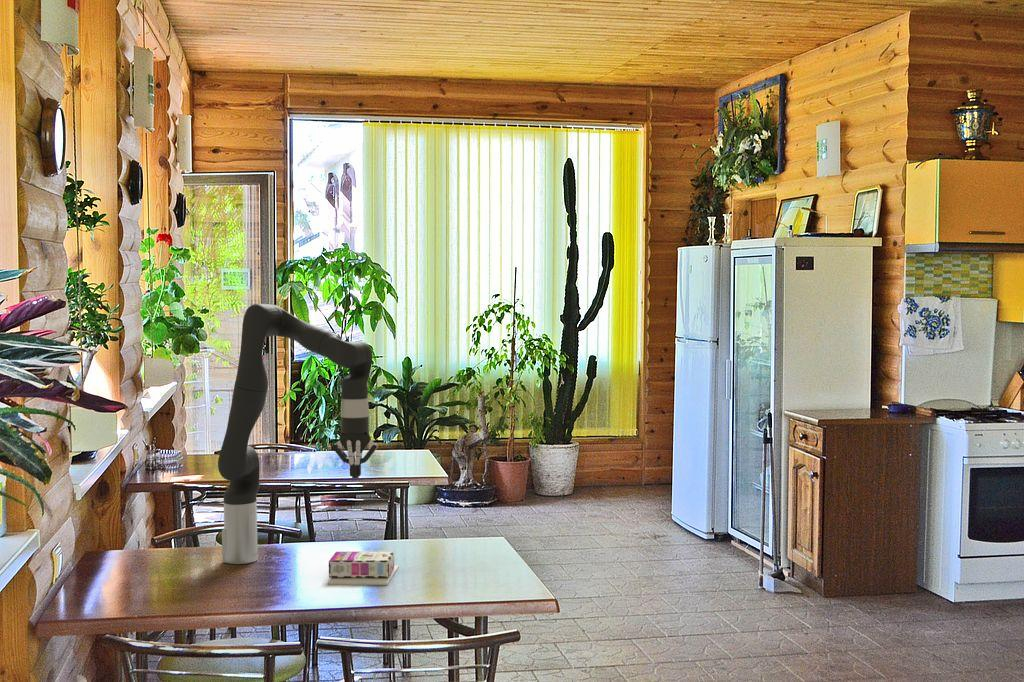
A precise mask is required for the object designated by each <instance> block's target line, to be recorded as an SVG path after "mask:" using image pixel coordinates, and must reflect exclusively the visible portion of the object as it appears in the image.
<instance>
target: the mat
mask: <svg viewBox="0 0 1024 682" xmlns="http://www.w3.org/2000/svg"><path fill="white" fill-rule="evenodd" d="M399 568H400V565H398V564H397V565H396V564H394V568H393V570H392V572H391V574H390V576H389V578H329V580H328V581H327V584H328V585H347V586H348V585H356V586H357V585H359V586H360V585H362V586H388V585H389V584H390V582H391V580H392V578H393V577H394V576H395V575H396V573H397V571H398V570H399Z"/></svg>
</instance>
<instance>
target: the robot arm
mask: <svg viewBox="0 0 1024 682" xmlns="http://www.w3.org/2000/svg"><path fill="white" fill-rule="evenodd" d="M276 336H277V337H281V338H286V339H289V340H292V341H294V342H296V343H298V344H299V345H301V346H302V347H303V348H304V349H305V350H307V351H309V352H312V353H313V354H314V353H315V354H317V355H318V356H322V357H324V358H327V359H328V360H329V361H330V362H332V363H334V364H335V365H336V366H339V367H342V368H345V369H349V371H348V374H347V376H345V377H344V378H342V380H341V402H340V403H341V404H340V436H339V440H338V441H337V442H335V443H334V444H332V446H331V448H332V450H333V451H334V452H335V453H336V454H337V456H338V458H340V459H341V461H342V462H343V463H346V464H348V466H349V476H350V477H351V478H352V479H359V478H360V476H361V474H362V464H365V463H366V462H368V461H369V459H370V458H371V456H372V455H374V453H375V451H376V450H377V449H378V448H379V444H378V443H375V442H374V441H373V440H372V438H371V437H372V436H371V435H370V418H369V417H370V415H369V414H370V409H369V407H370V406H369V401H368V400H369V399H368V398H369V395H368V389H369V388H368V387H369V386H368V381H369V378H370V373H371V370H372V365H373V352H372V349H371V347H370V345H369V344H368V343H367V342H365V341H361V340H360V341H359V340H358V341H345V340H343V339H342V338H341V337H340V335H339V334H337V333H334V332H332V331H330V330H327V329H324V328H322V327H319V326H316V325H314V324H311V323H308V322H306V321H304V320H302V319H300V318H299V317H296V316H294V315H293V314H291V313H290V312H288V311H287V310H285V309H283V308H282V307H280V306H278V305H276V304H272V303H254V304H250V306H249V307H248V308H247V309H246V310H245V312H244V315H243V320H242V326H241V341H240V352H239V359H238V364H237V365H238V366H237V371H236V376H235V377H236V378H235V381H234V384H233V385H234V387H233V392H232V397H231V404H230V410H229V414H228V420H227V425H226V426H227V427H226V430H225V434H224V438H223V441H222V444H221V447H220V452H219V454H218V459H217V469H218V472H219V474H220V476H221V477H222V478H223V479H224V480H226V481H229V485H228V486H227V489H226V490H225V491H224V493H223V527H224V528H222V530H221V551H222V553H221V554H222V559H221V560H222V563H225V564H230V565H244V564H251V563H255V562H256V561H258V559H259V557H258V556H259V555H258V554H259V552H258V551H259V550H258V515H257V514H258V513H257V511H258V509H257V507H258V506H257V502H258V501H257V496H258V492H259V488H260V469H261V468H260V458H259V454H258V453H257V451H256V450H255V449H254V447H252V446H251V445H249V440H250V436H251V433H252V431H253V430H254V427H255V425H256V423H257V421H258V420H259V418H260V417H261V414H262V413H263V410H264V407H265V403H266V398H267V394H268V388H269V380H268V375H267V370H266V368H265V364H264V358H263V353H264V352H263V351H264V346H265V345H264V344H265V340H266V338H267V337H276ZM367 447H368V451H367V452H366V453H365V454H364V453H363V451H365V449H366V448H367ZM343 448H344V449H345V451H347V453H346V452H345V451H344V450H343ZM363 454H364V456H363Z"/></svg>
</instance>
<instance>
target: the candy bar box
mask: <svg viewBox="0 0 1024 682" xmlns="http://www.w3.org/2000/svg"><path fill="white" fill-rule="evenodd" d="M394 565H395V552H394V551H380V550H379V551H377V550H375V551H336V552H335V553H334V554H333V555H332V556H331V558H329V560H328V577H329V579H331V578H389V576H390V574H391V572H392V570H393V568H394Z"/></svg>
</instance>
